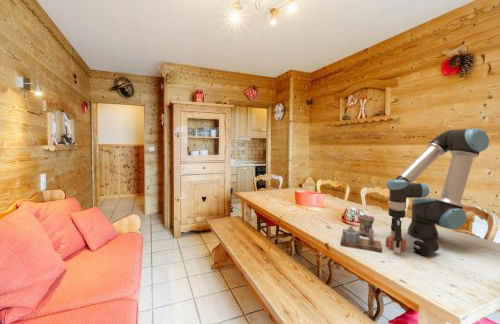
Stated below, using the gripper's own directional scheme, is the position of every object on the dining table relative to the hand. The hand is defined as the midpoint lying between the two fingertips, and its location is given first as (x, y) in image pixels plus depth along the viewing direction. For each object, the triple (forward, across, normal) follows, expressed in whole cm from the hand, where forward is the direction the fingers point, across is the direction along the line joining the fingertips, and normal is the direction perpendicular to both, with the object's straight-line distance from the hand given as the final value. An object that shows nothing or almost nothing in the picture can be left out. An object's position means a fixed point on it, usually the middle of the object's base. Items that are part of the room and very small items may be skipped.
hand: (395, 247), depth 125 cm
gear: (-2, +4, -22) cm, 22 cm away
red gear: (0, 0, 0) cm, 0 cm away
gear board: (0, +4, -17) cm, 17 cm away
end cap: (0, +1, +13) cm, 13 cm away
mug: (0, -16, -15) cm, 22 cm away
